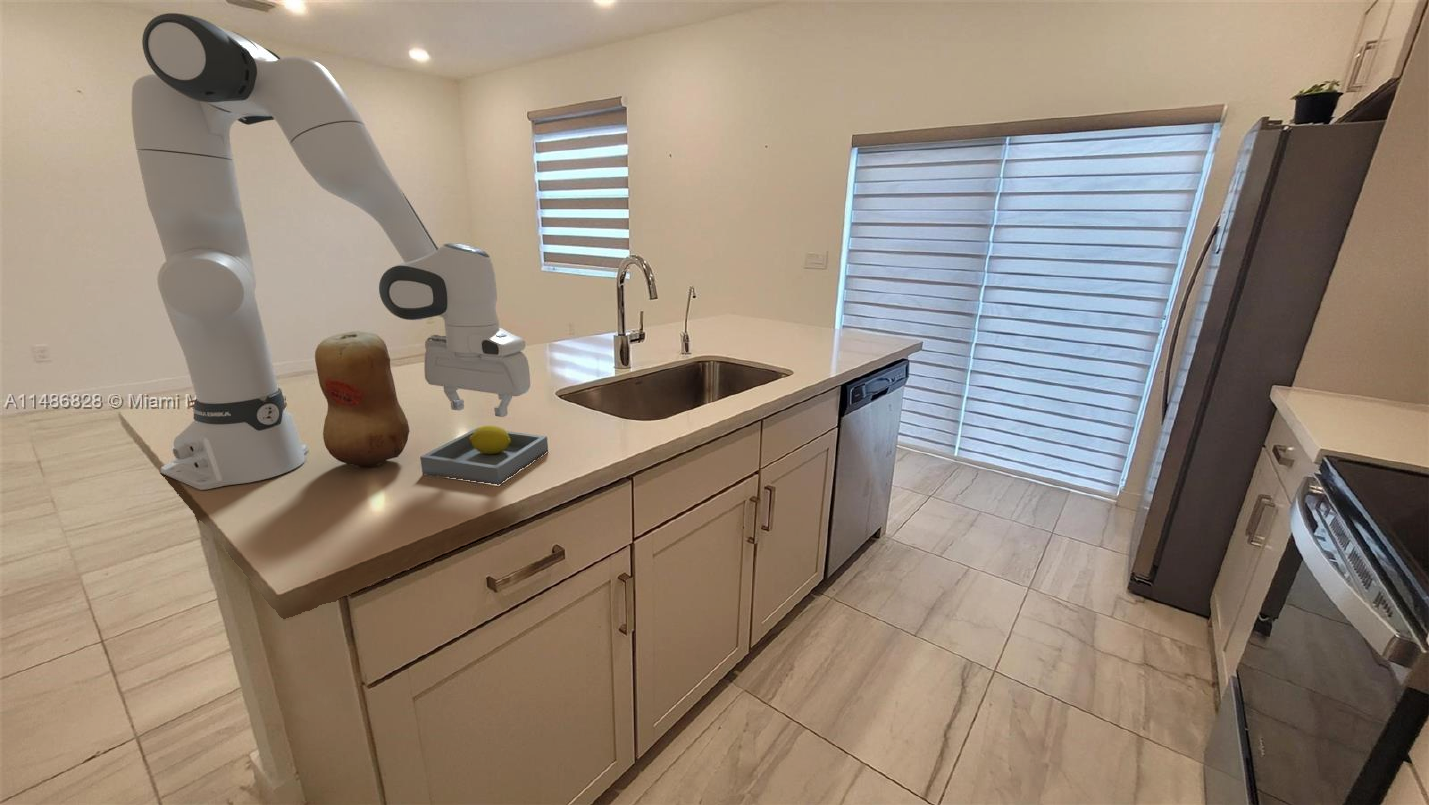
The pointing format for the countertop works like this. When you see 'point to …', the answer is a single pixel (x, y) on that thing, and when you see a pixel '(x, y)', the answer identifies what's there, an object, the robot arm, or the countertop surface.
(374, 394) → the butternut squash
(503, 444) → the lemon
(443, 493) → the countertop surface
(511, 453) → the tray
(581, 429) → the countertop surface
